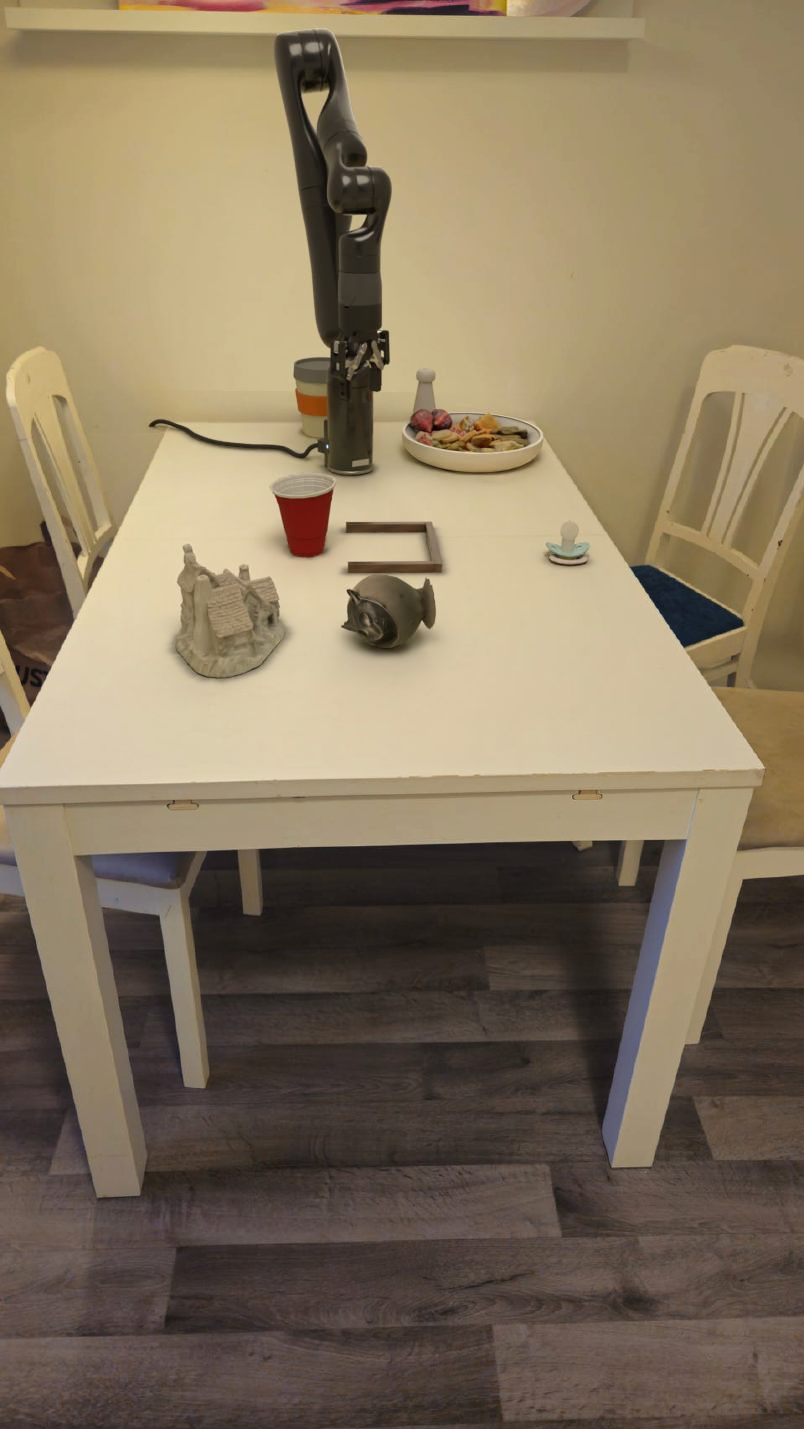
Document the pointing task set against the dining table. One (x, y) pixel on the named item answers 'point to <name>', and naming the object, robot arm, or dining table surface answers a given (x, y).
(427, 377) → the salt shaker
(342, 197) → the robot arm
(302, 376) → the reusable coffee cup
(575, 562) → the pacifier
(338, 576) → the dining table surface
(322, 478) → the plastic cup
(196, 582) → the ceramic cottage
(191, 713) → the dining table surface
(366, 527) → the frame
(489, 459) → the bowl
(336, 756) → the dining table surface
